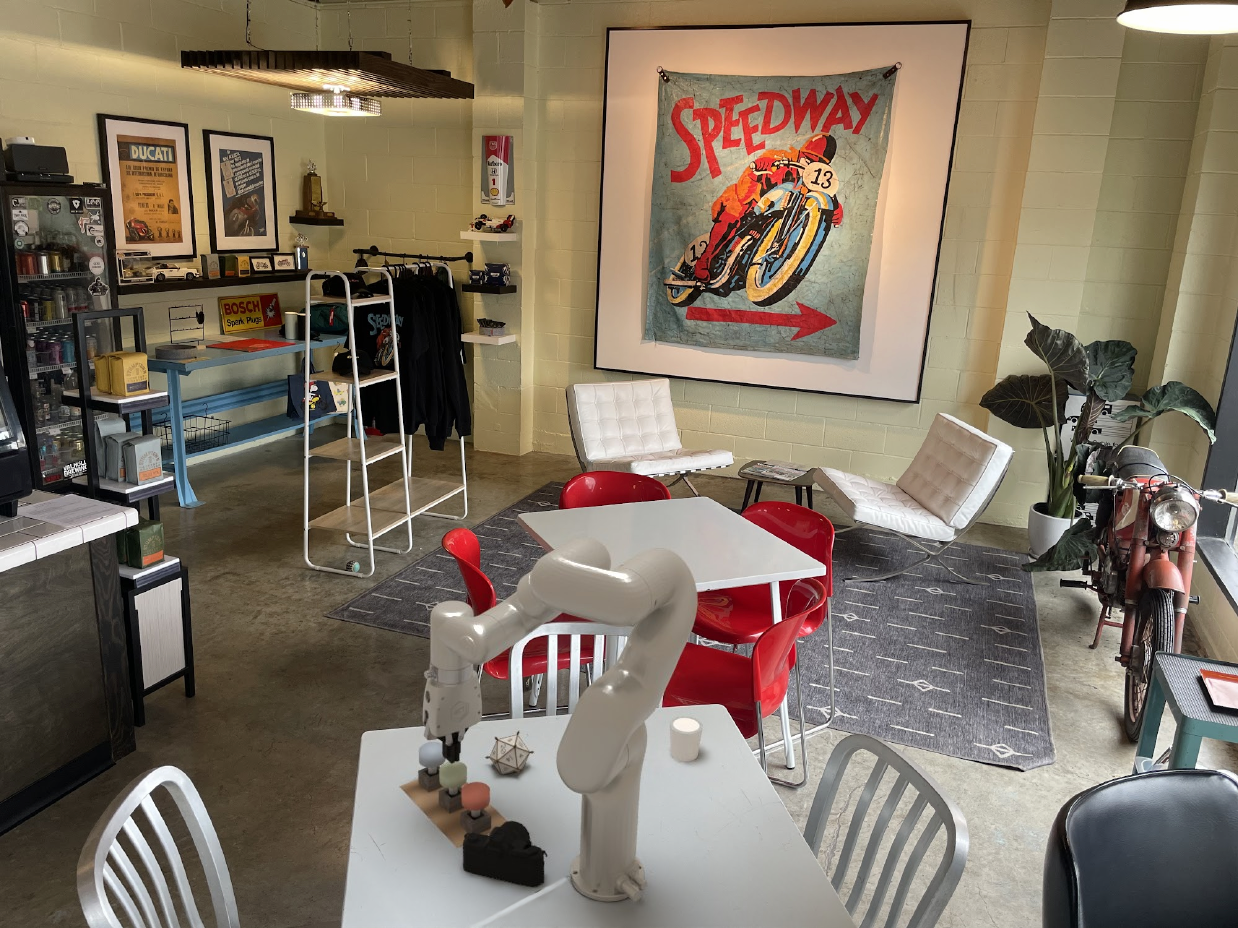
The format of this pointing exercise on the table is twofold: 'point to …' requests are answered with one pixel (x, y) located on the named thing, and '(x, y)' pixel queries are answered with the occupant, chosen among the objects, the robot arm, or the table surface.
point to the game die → (509, 754)
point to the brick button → (475, 797)
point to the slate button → (431, 756)
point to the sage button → (453, 776)
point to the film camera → (505, 855)
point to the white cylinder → (685, 738)
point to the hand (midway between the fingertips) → (451, 758)
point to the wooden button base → (449, 808)
